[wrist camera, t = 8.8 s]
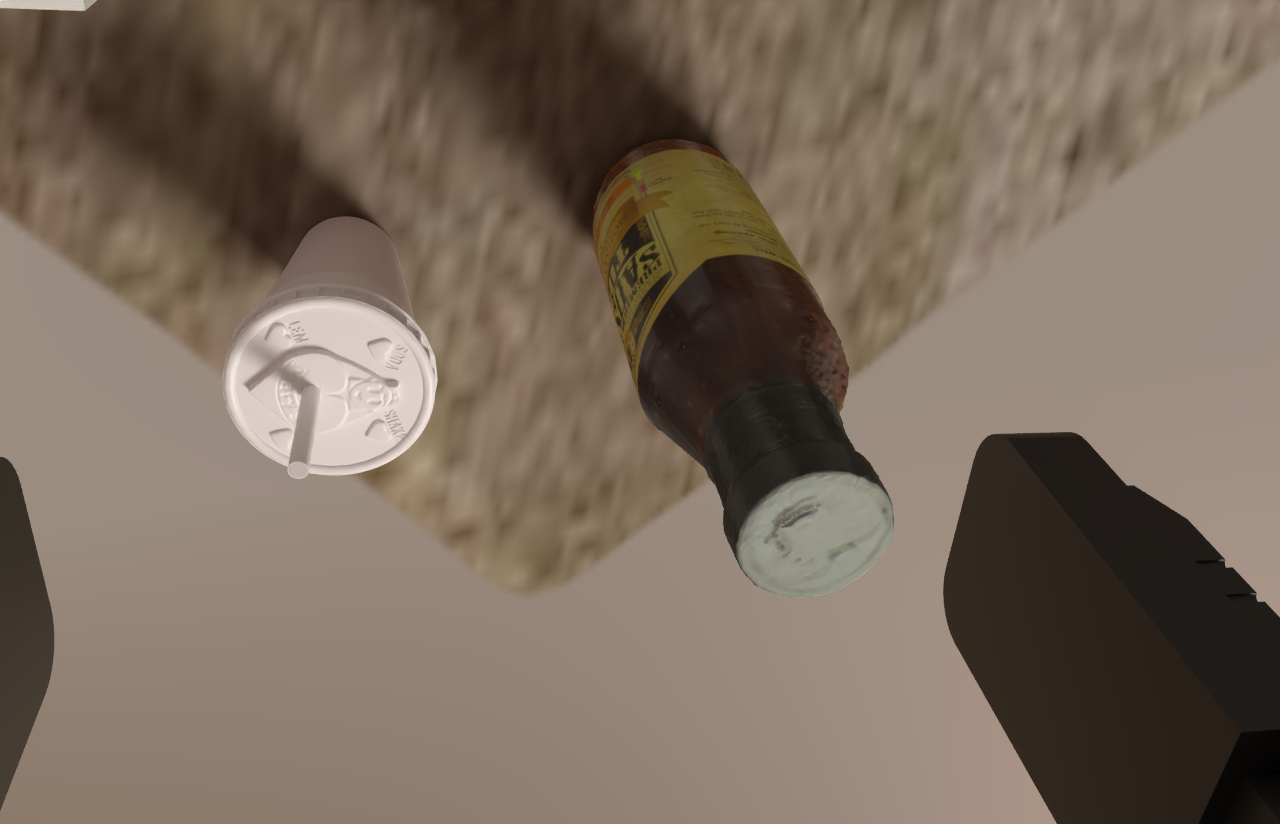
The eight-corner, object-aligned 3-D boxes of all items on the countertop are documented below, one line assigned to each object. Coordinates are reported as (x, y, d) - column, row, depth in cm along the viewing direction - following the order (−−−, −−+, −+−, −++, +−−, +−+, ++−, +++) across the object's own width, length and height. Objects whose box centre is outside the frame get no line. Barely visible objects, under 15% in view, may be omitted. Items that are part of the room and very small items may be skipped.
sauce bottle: (579, 140, 42) (679, 426, 25) (746, 122, 43) (951, 388, 26) (594, 301, 46) (691, 646, 29) (748, 282, 46) (931, 608, 30)
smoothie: (255, 174, 41) (186, 362, 29) (438, 186, 42) (443, 371, 30) (262, 335, 44) (203, 563, 32) (432, 342, 46) (435, 564, 34)
